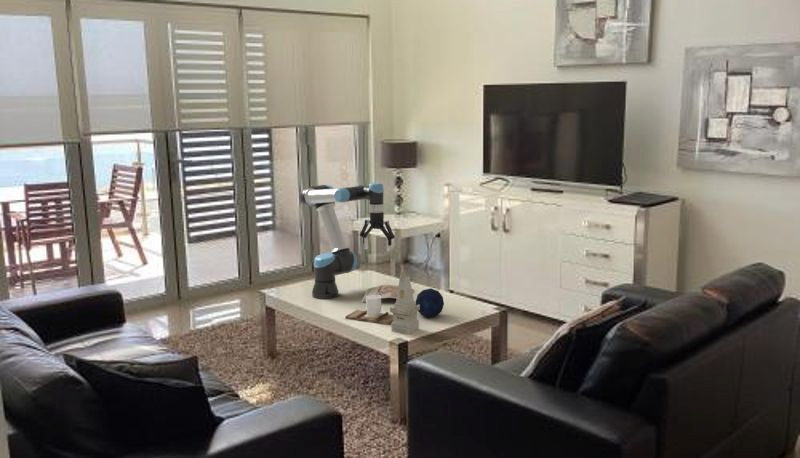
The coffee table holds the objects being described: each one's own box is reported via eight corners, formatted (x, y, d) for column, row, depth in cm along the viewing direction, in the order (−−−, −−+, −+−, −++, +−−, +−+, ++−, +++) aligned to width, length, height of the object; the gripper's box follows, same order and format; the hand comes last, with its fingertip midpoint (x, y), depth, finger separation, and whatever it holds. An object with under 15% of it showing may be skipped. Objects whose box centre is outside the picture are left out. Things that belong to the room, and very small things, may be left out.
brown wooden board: (345, 318, 354) (345, 314, 354) (357, 312, 365) (357, 307, 364) (389, 324, 343) (389, 320, 343) (400, 318, 354) (400, 313, 353)
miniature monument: (390, 331, 333) (389, 270, 328) (401, 325, 342) (400, 265, 337) (409, 334, 328) (408, 273, 323) (420, 328, 337) (419, 268, 332)
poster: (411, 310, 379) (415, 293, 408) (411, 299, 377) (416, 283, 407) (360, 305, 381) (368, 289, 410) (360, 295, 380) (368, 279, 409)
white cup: (384, 315, 354) (384, 296, 352) (373, 319, 348) (373, 299, 346) (373, 312, 359) (373, 293, 357) (362, 316, 353) (362, 297, 351)
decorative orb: (454, 307, 353) (441, 281, 358) (434, 313, 343) (420, 286, 347) (438, 318, 363) (425, 293, 367) (417, 325, 353) (405, 299, 357)
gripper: (353, 211, 378) (354, 249, 382) (394, 214, 367) (394, 253, 371) (359, 209, 384) (360, 247, 388) (400, 212, 373) (400, 250, 377)
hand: (377, 250), depth 379 cm, fingers open, 13 cm apart
